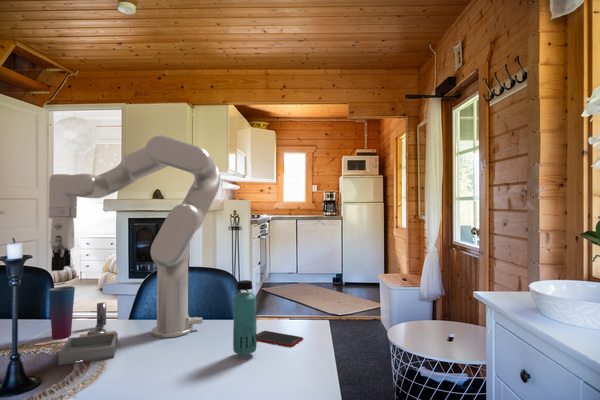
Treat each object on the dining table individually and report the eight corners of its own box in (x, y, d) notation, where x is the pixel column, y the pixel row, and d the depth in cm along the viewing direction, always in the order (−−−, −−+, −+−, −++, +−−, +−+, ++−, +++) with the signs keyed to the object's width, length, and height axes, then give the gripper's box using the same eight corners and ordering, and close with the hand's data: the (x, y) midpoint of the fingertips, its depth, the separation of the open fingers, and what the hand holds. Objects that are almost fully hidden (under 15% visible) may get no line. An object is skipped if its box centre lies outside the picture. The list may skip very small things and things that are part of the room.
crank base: (115, 332, 122) (115, 330, 122) (113, 340, 115) (113, 338, 115) (38, 341, 114) (38, 339, 114) (30, 350, 107) (30, 348, 107)
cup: (62, 341, 114) (62, 291, 115) (42, 339, 116) (43, 290, 116) (79, 334, 121) (79, 286, 121) (61, 332, 122) (61, 285, 123)
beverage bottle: (237, 362, 97) (237, 284, 98) (229, 353, 103) (229, 279, 104) (260, 357, 100) (260, 281, 101) (252, 349, 106) (251, 277, 107)
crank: (104, 337, 115) (105, 313, 115) (86, 339, 113) (86, 315, 113) (110, 322, 130) (110, 301, 130) (93, 324, 128) (93, 303, 128)
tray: (117, 342, 113) (117, 332, 113) (113, 357, 101) (113, 346, 101) (68, 348, 108) (68, 338, 108) (58, 365, 96) (58, 353, 96)
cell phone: (264, 333, 122) (264, 330, 122) (304, 340, 114) (304, 337, 115) (249, 340, 115) (249, 337, 115) (291, 348, 108) (291, 345, 108)
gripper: (71, 213, 113) (69, 271, 112) (81, 213, 129) (79, 264, 128) (41, 213, 110) (39, 273, 109) (55, 213, 126) (53, 265, 125)
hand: (61, 268), depth 119 cm, fingers open, 9 cm apart
